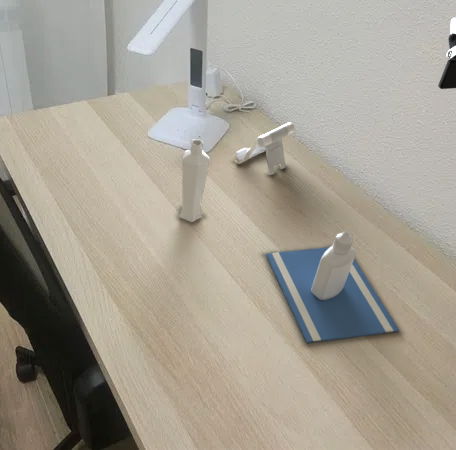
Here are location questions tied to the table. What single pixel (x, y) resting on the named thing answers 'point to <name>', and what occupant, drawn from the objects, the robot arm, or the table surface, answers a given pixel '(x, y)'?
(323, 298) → the eye dropper bottle
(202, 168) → the perfume bottle
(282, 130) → the tablet stand
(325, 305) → the towel
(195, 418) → the table surface
